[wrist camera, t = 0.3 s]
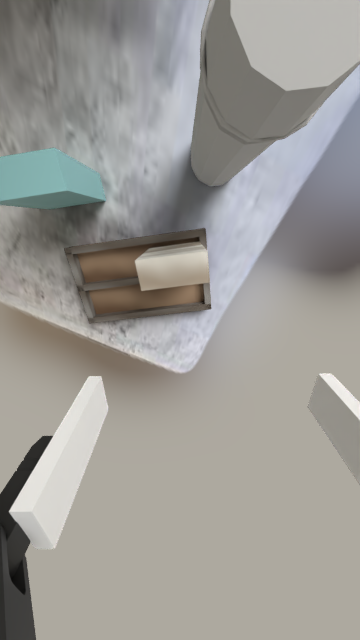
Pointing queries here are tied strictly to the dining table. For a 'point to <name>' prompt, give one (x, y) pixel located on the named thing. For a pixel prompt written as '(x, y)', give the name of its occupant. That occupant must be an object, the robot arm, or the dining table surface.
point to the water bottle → (266, 75)
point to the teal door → (47, 180)
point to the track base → (131, 292)
